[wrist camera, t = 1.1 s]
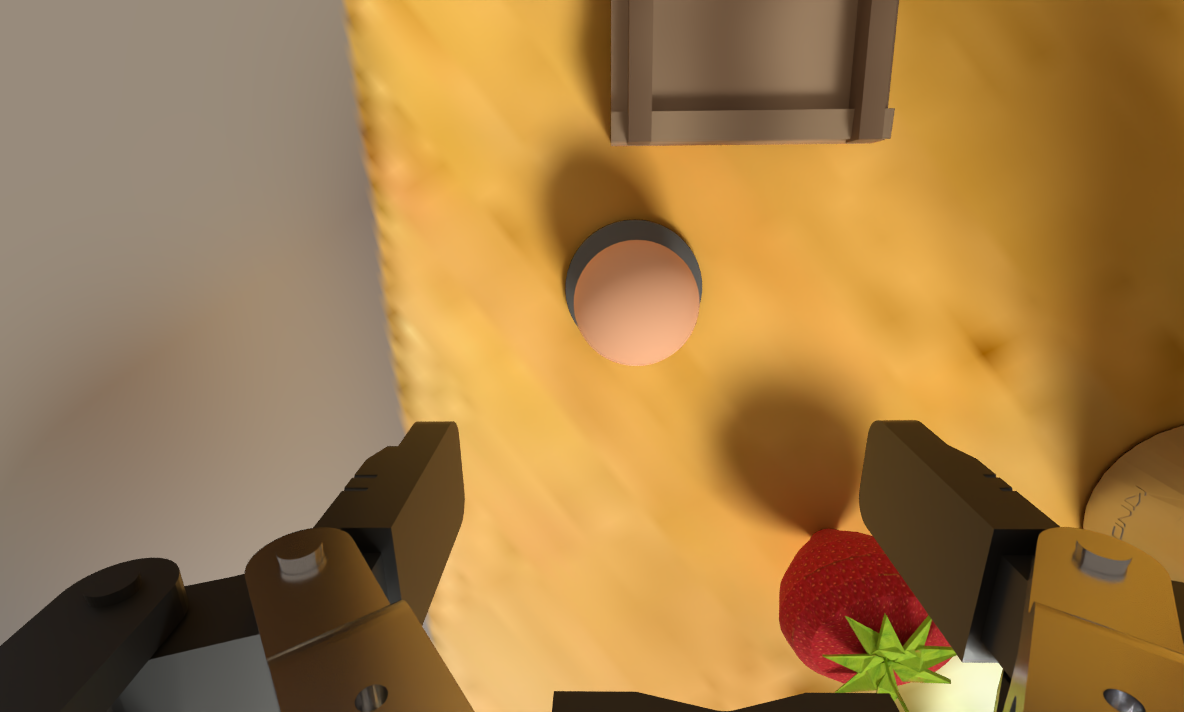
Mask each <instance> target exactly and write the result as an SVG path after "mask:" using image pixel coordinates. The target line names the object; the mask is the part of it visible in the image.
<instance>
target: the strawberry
mask: <svg viewBox="0 0 1184 712" xmlns="http://www.w3.org/2000/svg"><path fill="white" fill-rule="evenodd" d="M779 622H780V627H781V631H782V633H783V635H784V636H785V638H786V640H787V641H788V643H789V644H790V646H791V647H792V649H793V650H794V652H795V653H796V655H797V656H798V658H799V659H800V660H801V661H802V662H803V663H804V664H805V665H806V666H807V667H809V668H810V669H812V670H814V671H815V672H817V673H819V674H821V675H824V676H826V677H829V678H831V679H834V680H836V681H839V682H842V683H845V684H844V685H843V686H841V687H840V688H839V689H838V690H837V691H836V692H835V693H845V692H858V691H871V690H877V692H876V693H890V695H891V697H892V699H893V701H895V700H896V699H897V698H898V699H899V701H900V703H901V704H902V706H903V708H904V710H905V712H909V711H908V709H907V707H906V705H905V703H904V701H903V699H902V697H901V696H900V694H899V692H898V688H897V686H898V685H902V684H906V683H910V682H920V683H948V684H951V680H950V679H948V678H946V677H944V676H942V675H940V674H937V673H935V671H937V670H938V669H940V668H941V667H942V666H944V665H945V664H946V663H947V662H948V661H949V660H950V659H951V658H952V657H953V656H956V655H957V654H956V653H955V651H954V650H953V649H952V647H951V646H950V644H949V643H948V642H947V640H946V639H945V637H944V636H943V634H942V633H941V632H940V630H939V629H938V627H937V626H936V625H935V623H934V622H933V620H932V619H931V618H930V616H929V615H928V613H927V612H926V610H925V609H924V608H923V606H922V605H921V603H920V602H919V601H918V599H917V598H916V596H915V595H914V593H913V592H912V591H911V589H910V588H909V586H908V585H907V584H906V582H905V581H904V579H903V578H902V577H901V575H900V574H899V572H898V571H897V569H896V568H895V567H894V565H893V564H892V562H891V561H890V560H889V558H888V557H887V555H886V554H885V552H884V551H883V550H882V548H881V547H880V545H879V544H878V543H877V541H876V540H875V538H874V537H873V536H870V535H866V534H862V533H858V532H851V531H840V530H836V529H823V530H820V531H818V532H816V533H815V534H814V535H813V536H812V537H811V538H810V540H809V541H808V542H807V543H806V544H805V545H804V546H803V547H802V548H801V549H800V550H799V551H798V553H797V554H796V556H795V557H794V559H793V561H792V562H791V564H790V566H789V567H788V569H787V571H786V573H785V574H784V577H783V579H782V581H781V585H780V597H779Z"/></svg>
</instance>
